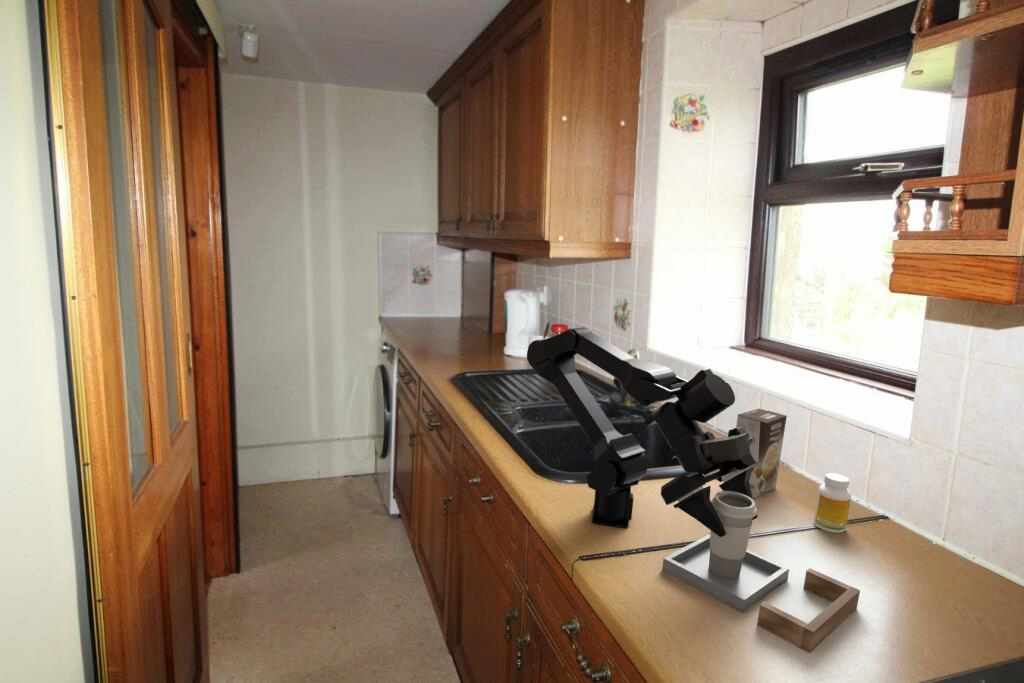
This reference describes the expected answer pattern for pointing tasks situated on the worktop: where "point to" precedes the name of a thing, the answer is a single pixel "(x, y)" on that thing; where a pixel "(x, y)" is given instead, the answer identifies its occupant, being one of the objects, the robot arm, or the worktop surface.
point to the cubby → (822, 624)
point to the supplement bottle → (833, 503)
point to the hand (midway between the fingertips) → (739, 527)
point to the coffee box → (763, 447)
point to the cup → (731, 533)
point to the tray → (738, 593)
